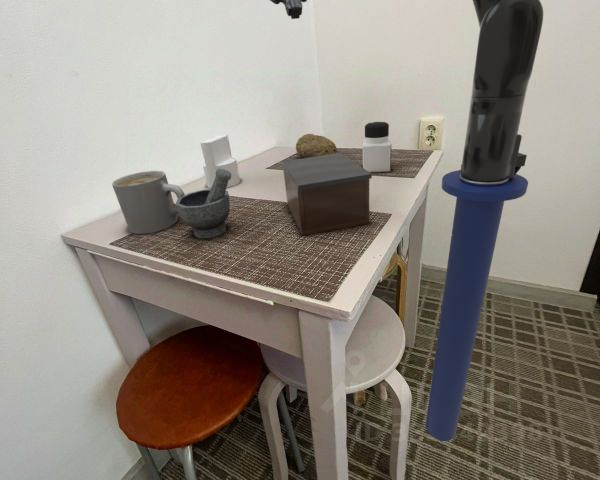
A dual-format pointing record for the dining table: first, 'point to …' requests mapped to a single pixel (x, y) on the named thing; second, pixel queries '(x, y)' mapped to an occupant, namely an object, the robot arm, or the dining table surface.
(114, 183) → the coffee mug
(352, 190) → the open box
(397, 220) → the dining table surface
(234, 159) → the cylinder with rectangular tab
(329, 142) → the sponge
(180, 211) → the mortar and pestle
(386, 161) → the medicine bottle
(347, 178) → the dark grey box lid
